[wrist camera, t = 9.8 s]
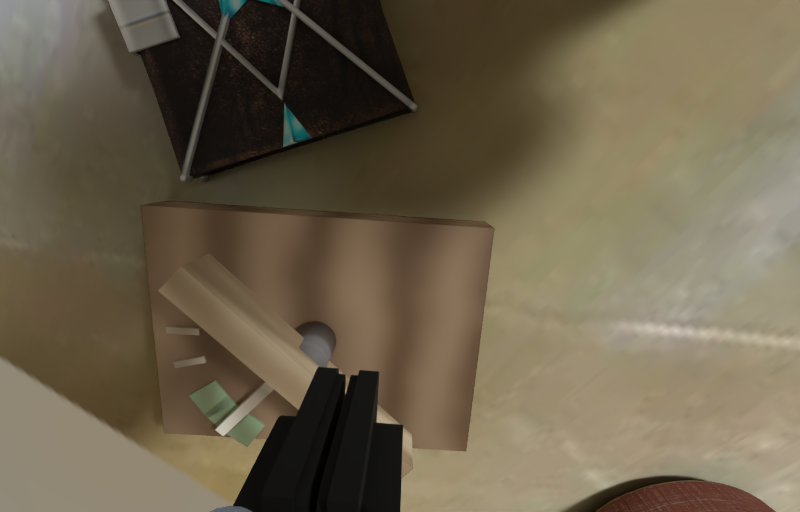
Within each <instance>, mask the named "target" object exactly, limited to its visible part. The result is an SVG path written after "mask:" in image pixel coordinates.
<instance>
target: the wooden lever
mask: <svg viewBox="0 0 800 512" xmlns="http://www.w3.org/2000/svg"><path fill="white" fill-rule="evenodd" d="M159 292H160V293H161V294H162V295H164V296H165V297H166V298H167V299H168V300H170V301H171V302H172V303H173V304H174V305H175V306H177V307H178V308H179V309H180V310H181V311H182V312H184V313H185V314H186V315H187V316H188V317H190V318H191V319H192V320H193V321H194V322H195V323H197V324H198V325H199V326H200V327H201V328H203V329H204V330H205V331H206V332H207V333H208V334H210V335H211V336H212V337H213V338H214V339H215V340H217V341H218V342H219V343H220V344H221V345H223V346H224V347H225V348H226V349H227V350H228V351H230V352H231V353H232V354H233V355H234V356H235V357H237V358H238V359H239V360H240V361H241V362H243V363H244V364H245V365H246V366H247V367H248V368H250V369H251V370H252V371H253V372H254V373H255V374H257V375H258V376H259V377H260V378H261V379H263V380H264V381H265V382H264V383H263V384H261V385H260V386H259V387H258V388H257V389H256V390H255V391H254V392H253V393H252V394H251V395H250V396H249V397H248V398H247V399H246V400H244V401H243V402H242V403H241V404H240V405H239V406H238V407H237V408H236V409H235V410H234V411H233V412H232V413H231V414H230V415H229V416H227V417H226V418H225V419H224V420H223V421H222V422H221V423H220V424H219V425H218V426H217V428H216V429H215V430H216V431H217V432H218V433H219V434H221V435H222V436H224V435H225V434H227V433H228V432H229V431H230V430H231V429H232V428H233V427H234V426H235V425H236V424H237V423H238V422H239V421H241V420H242V419H243V418H244V417H245V416H246V415H247V414H248V413H249V412H250V411H251V410H252V409H253V408H255V407H256V406H257V405H258V404H259V403H260V402H261V401H262V400H263V399H264V398H265V397H266V396H267V395H269V394H270V393H271V392H272V391H273V390H276V391H277V392H278V393H279V394H280V395H281V396H283V397H284V398H285V399H286V400H287V401H288V402H290V403H291V404H292V405H293V406H294V407H296V408H297V409H298V410H299V408H300V406H301V404H302V401H303V399H304V397H305V395H306V392H307V390H308V388H309V385H310V383H311V381H312V379H313V376H314V374H315V372H316V370H317V368H318V367H327V368H337V367H336V366H335V365H333V364H332V363H331V362H330V360H331V357H332V355H333V352H334V349H335V346H336V336H335V333H334V331H333V330H332V329H331V328H330V327H329V326H328V325H326V324H325V323H322V322H318V321H311V322H307V323H305V324H303V325H302V326H301V327H300V328H299V329H298V330H297V331H295V330H294V329H293V328H292V327H291V326H290V325H289V324H288V323H286V322H285V321H284V320H283V319H282V318H281V317H280V316H279V315H278V314H276V313H275V312H274V311H273V310H272V309H271V308H270V307H269V306H268V305H266V304H265V303H264V302H263V301H262V300H261V299H260V298H259V297H257V296H256V295H255V294H254V293H253V292H252V291H251V290H250V289H249V288H247V287H246V286H245V285H244V284H243V283H242V282H241V281H240V280H238V279H237V278H236V277H235V276H234V275H233V274H232V273H231V272H230V271H228V270H227V269H226V268H225V267H224V266H223V265H222V264H221V263H219V262H218V261H217V260H216V259H215V258H214V257H213V256H212V255H211V254H206V255H204V256H202V257H200V258H198V259H196V260H193V261H191V262H189V263H187V264H185V265H183V266H181V267H180V268H179V269H178V270H177V271H176V272H175V273H174V274H173V275H172V276H171V278H170V279H169V280H168V281H167V282H166V283H165V284H164V285H163V286H162V287H161V288H160V289H159ZM339 374H343V373H342V372H341V371H340V370H339ZM349 380H350V379H349V378H348V377H347V376H346V388H345V395H346V391H347V387H348V384H349ZM377 423H387V424H399V423H398V422H397V421H396V420H395V419H394V418H393V417H391V416H390V415H389V414H388V413H387V412H386V411H385V410H384V409H383V408H381V407H380V406H379V405H378V406H377ZM412 469H413V455H412V434H410V433H409V432H408V431H407V430H406V429H405V428H404V427H403V445H402V473H401V478H402V477H404V476H405V475H406V474H407V473H409V472H410V471H411V470H412Z"/></svg>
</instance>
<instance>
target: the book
mask: <svg viewBox="0 0 800 512" xmlns="http://www.w3.org/2000/svg"><path fill="white" fill-rule="evenodd" d="M108 2H109V4H110V7H111V9H112V12H113V14H114V16H115V19H116V21H117V24H118V26H119V29H120V31H121V33H122V36H123V38H124V41H125V43H126V46H127V48H128V50H129V52H130V53H132V54H135V55H137V56H140V57H142V60H143V62H144V65H145V68H146V70H147V73H148V75H149V78H150V81H151V83H152V86H153V89H154V92H155V95H156V98H157V101H158V104H159V107H160V110H161V113H162V116H163V119H164V122H165V125H166V128H167V131H168V134H169V137H170V140H171V143H172V146H173V149H174V152H175V155H176V158H177V161H178V164H179V167H180V170H181V175H180V179H179V180H180V181H183V182H192V179H193V178H198V177H199V179H198V181H201V182H207V181H208V177H209V176H207V175H213V174H216V173H219V172H222V171H225V170H228V169H231V168H234V167H237V166H240V165H243V164H246V163H249V162H252V161H255V160H258V159H261V158H264V157H267V156H271V155H274V154H277V153H280V152H284V151H287V150H290V149H293V148H296V147H300V146H303V145H306V144H309V143H313V142H316V141H319V140H322V139H326V138H329V137H332V136H335V135H339V134H342V133H345V132H348V131H352V130H355V129H358V128H361V127H364V126H368V125H371V124H374V123H377V122H381V121H384V120H387V119H390V118H394V117H397V116H400V115H403V114H407V113H410V112H414V113H415V111H416V110H417V108H418V107H417V105H416V104H415V103H414V100H413V97H412V94H411V91H410V88H409V85H408V83H407V80H406V77H405V74H404V71H403V68H402V66H401V63H400V60H399V57H398V54H397V51H396V48H395V46H394V43H393V40H392V37H391V34H390V31H389V28H388V26H387V23H386V20H385V17H384V14H383V11H382V8H381V4H380V0H108Z"/></svg>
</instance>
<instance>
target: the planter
mask: <svg viewBox="0 0 800 512" xmlns="http://www.w3.org/2000/svg"><path fill="white" fill-rule="evenodd" d="M594 512H775V511H774V510H773V509H772V508H770V507H769V506H768V505H766V504H765V503H764V502H762V501H761V500H760V499H758V498H756V497H755V496H753V495H751V494H749V493H747V492H745V491H743V490H740V489H738V488H735V487H732V486H729V485H725V484H721V483H715V482H708V481H696V480H683V481H671V482H664V483H658V484H653V485H648V486H645V487H641V488H638V489H636V490H633V491H630V492H628V493H625V494H623V495H621V496H618V497H616V498H614V499H612V500H611V501H609V502H607V503H606V504H604V505H603V506H601V507H600V508H599V509H597V510H596V511H594Z"/></svg>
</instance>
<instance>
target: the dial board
mask: <svg viewBox="0 0 800 512" xmlns="http://www.w3.org/2000/svg"><path fill="white" fill-rule="evenodd" d="M141 214H142V223H143V233H144V243H145V253H146V262H147V272H148V282H149V292H150V301H151V311H152V321H153V330H154V340H155V350H156V360H157V369H158V379H159V389H160V398H161V408H162V418H163V428H164V433H174V434H190V435H207V436H222V435H221V434H219V433H218V432H217V431H216V430H215V429H216V428H217V426H218V425H219V424H220V423H221V422H222V421H223V420H224V419H225V418H226V417H227V416H229V415H230V414H231V413H232V412H233V411H234V410H235V409H236V408H237V407H238V406H239V405H240V404H241V403H242V402H243V401H244V400H246V399H247V398H248V397H249V396H250V395H251V394H252V393H253V392H254V391H255V390H256V389H257V388H258V387H259V386H260V385H261V384H263V383H264V382H265V381H264V380H263V379H261V378H260V377H259V376H258V375H257V374H255V373H254V372H253V371H252V370H251V369H250V368H248V367H247V366H246V365H245V364H244V363H243V362H241V361H240V360H239V359H238V358H237V357H235V356H234V355H233V354H232V353H231V352H230V351H228V350H227V349H226V348H225V347H224V346H223V345H221V344H220V343H219V342H218V341H217V340H215V339H214V338H213V337H212V336H211V335H210V334H208V333H207V332H206V331H205V330H204V329H203V328H201V327H200V326H199V325H198V324H197V323H195V322H194V321H193V320H192V319H191V318H190V317H188V316H187V315H186V314H185V313H184V312H182V311H181V310H180V309H179V308H178V307H177V306H175V305H174V304H173V303H172V302H171V301H170V300H168V299H167V298H166V297H165V296H164V295H162V294H161V293H160V292H159V289H160V288H161V287H162V286H163V285H164V284H165V283H166V282H167V281H168V280H169V279H170V278H171V276H172V275H173V274H174V273H175V272H176V271H177V270H178V269H179V268H180V267H181V266H183V265H185V264H187V263H189V262H191V261H193V260H196V259H198V258H200V257H202V256H204V255H206V254H211V255H212V256H213V257H214V258H215V259H216V260H217V261H218V262H219V263H221V264H222V265H223V266H224V267H225V268H226V269H227V270H228V271H230V272H231V273H232V274H233V275H234V276H235V277H236V278H237V279H238V280H240V281H241V282H242V283H243V284H244V285H245V286H246V287H247V288H249V289H250V290H251V291H252V292H253V293H254V294H255V295H256V296H257V297H259V298H260V299H261V300H262V301H263V302H264V303H265V304H266V305H268V306H269V307H270V308H271V309H272V310H273V311H274V312H275V313H276V314H278V315H279V316H280V317H281V318H282V319H283V320H284V321H285V322H286V323H288V324H289V325H290V326H291V327H292V328H293V329H294V330H295V331H297V330H298V329H299V328H300V327H301V326H302V325H303V324H305V323H307V322H311V321H318V322H322V323H325V324H326V325H328V326H329V327H330V328H331V329H332V330H333V331H334V333H335V336H336V346H335V349H334V352H333V355H332V357H331V360H330V362H331V363H332V364H333V365H335V366H336V367H337V368H338V369H339V370H340V371H341V372H342V373H343V374H345V375H346V376H347V377H348V378H349V379H350V377H351V375H358V373H359V370H367V371H379V388H378V405H379V406H380V407H381V408H383V409H384V410H385V411H386V412H387V413H388V414H389V415H390V416H391V417H393V418H394V419H395V420H396V421H397V422H398V423H399V424H400V425H403V427H404V428H405V429H406V430H407V431H408V432H409V433H410V434H412V448H419V449H436V450H452V451H466V448H467V440H468V432H469V425H470V417H471V409H472V401H473V393H474V385H475V377H476V369H477V362H478V354H479V346H480V338H481V330H482V322H483V314H484V306H485V299H486V291H487V283H488V275H489V267H490V259H491V251H492V243H493V236H494V228H493V227H492V226H490V225H489V224H488V223H486V222H481V221H466V220H451V219H435V218H420V217H405V216H390V215H374V214H359V213H344V212H328V211H313V210H298V209H283V208H267V207H252V206H237V205H222V204H206V203H191V202H176V201H165V202H158V203H152V204H146V205H141ZM297 413H298V409H297V408H296V407H294V406H293V405H292V404H291V403H290V402H288V401H287V400H286V399H285V398H284V397H283V396H281V395H280V394H279V393H278V392H277V391H276V390H273V391H272V392H271V393H270V394H269V395H267V396H266V397H265V398H264V399H263V400H262V401H261V402H260V403H259V404H258V405H257V406H256V407H255V408H253V409H252V410H251V411H250V412H249V413H248V414H247V415H246V416H245V417H244V418H243V419H242V420H241V421H239V422H238V423H237V424H236V425H235V426H234V427H233V428H232V429H231V430H230V431H229V432H228V433H227V434H225V435H224V436H223V437H232V438H234V439H235V440H237V441H238V442H240V443H242V444H243V445H245V446H246V447H248V445H249V444H250V443H251V442H252V441H253V439H254V438H256V439H267V438H268V436H269V434H270V432H271V430H272V428H273V426H274V424H275V422H276V421H277V419H278V417H279V416H281V415H284V416H296V415H297Z"/></svg>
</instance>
